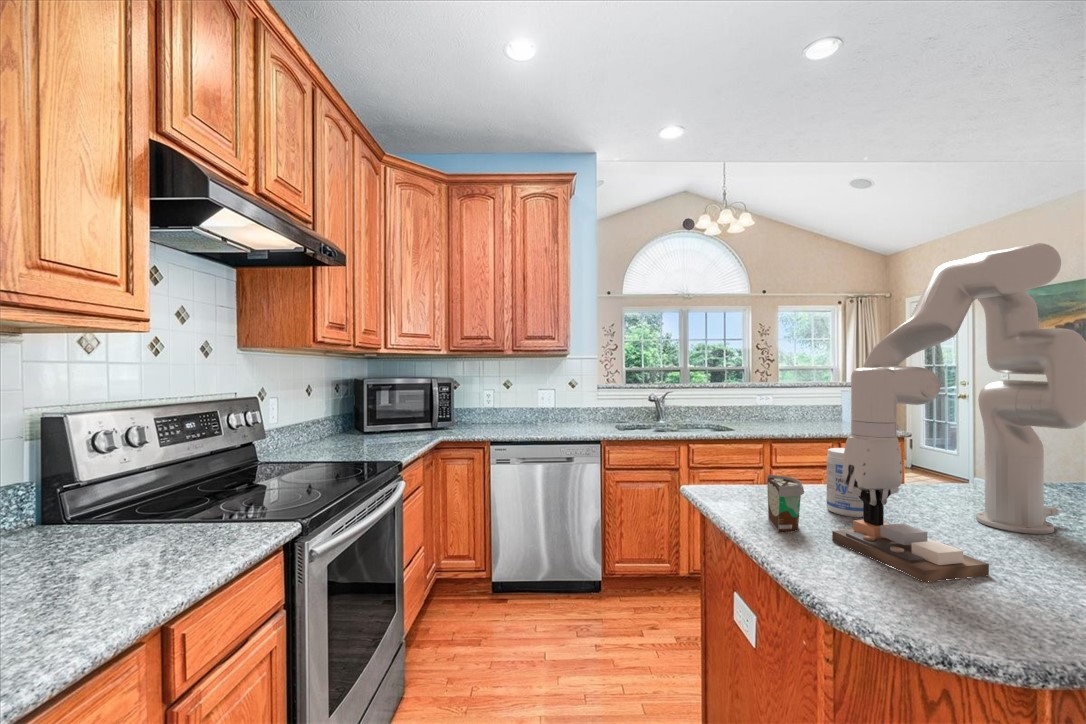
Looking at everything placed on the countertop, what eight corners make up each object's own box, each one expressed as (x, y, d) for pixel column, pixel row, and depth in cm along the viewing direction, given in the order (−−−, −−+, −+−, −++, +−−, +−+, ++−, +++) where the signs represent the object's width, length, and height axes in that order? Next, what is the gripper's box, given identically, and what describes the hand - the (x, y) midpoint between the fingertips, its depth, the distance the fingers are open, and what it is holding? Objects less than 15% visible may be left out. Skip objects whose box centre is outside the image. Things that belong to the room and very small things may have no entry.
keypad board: (887, 536, 106) (887, 522, 106) (988, 575, 86) (988, 558, 86) (832, 540, 103) (832, 526, 103) (924, 582, 84) (924, 564, 84)
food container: (812, 536, 106) (812, 488, 106) (780, 534, 107) (780, 486, 107) (795, 518, 118) (795, 475, 118) (766, 517, 119) (766, 474, 119)
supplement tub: (836, 517, 119) (835, 453, 119) (820, 506, 128) (819, 447, 128) (881, 519, 117) (881, 454, 117) (862, 507, 127) (862, 447, 127)
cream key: (935, 551, 91) (935, 540, 91) (963, 562, 86) (963, 550, 86) (911, 554, 90) (911, 542, 90) (938, 565, 86) (938, 553, 86)
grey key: (902, 533, 98) (902, 523, 98) (927, 543, 93) (927, 531, 93) (880, 535, 97) (880, 525, 97) (904, 545, 92) (903, 533, 92)
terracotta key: (874, 528, 104) (874, 518, 104) (896, 536, 99) (896, 526, 99) (853, 530, 103) (853, 520, 103) (873, 538, 98) (873, 528, 98)
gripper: (889, 427, 106) (889, 515, 106) (826, 428, 103) (826, 520, 103) (922, 431, 99) (922, 527, 99) (855, 433, 96) (855, 532, 96)
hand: (873, 523), depth 101 cm, fingers closed
